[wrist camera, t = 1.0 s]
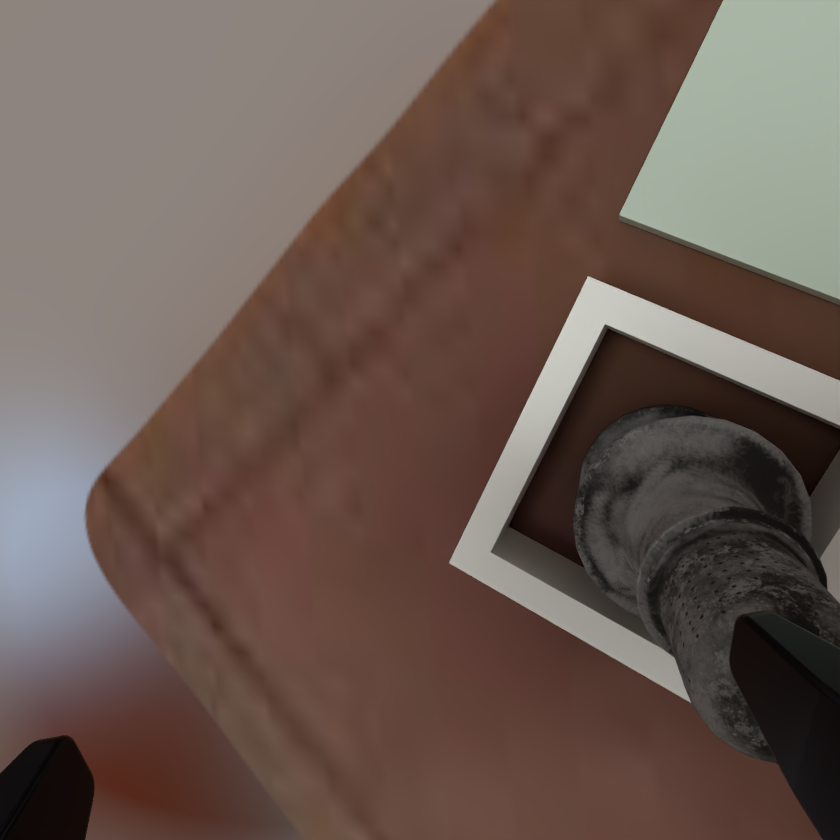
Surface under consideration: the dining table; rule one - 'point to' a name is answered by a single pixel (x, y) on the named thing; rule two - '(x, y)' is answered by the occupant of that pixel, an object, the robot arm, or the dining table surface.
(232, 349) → the dining table surface
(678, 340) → the shaker holder
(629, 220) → the green tile
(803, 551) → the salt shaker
